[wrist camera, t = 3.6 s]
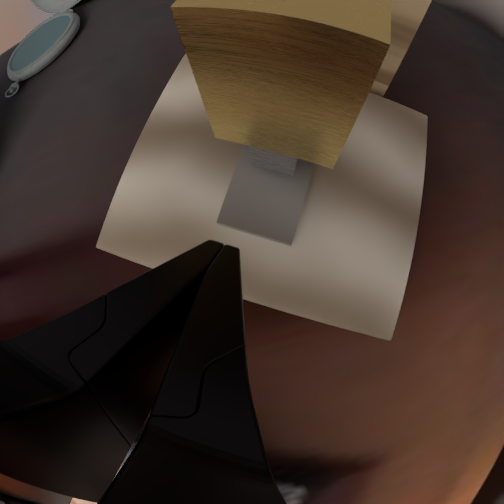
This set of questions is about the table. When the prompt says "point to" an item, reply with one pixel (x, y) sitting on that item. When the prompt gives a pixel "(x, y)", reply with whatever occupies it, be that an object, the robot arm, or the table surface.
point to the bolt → (284, 72)
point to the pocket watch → (43, 41)
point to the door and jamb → (285, 202)
